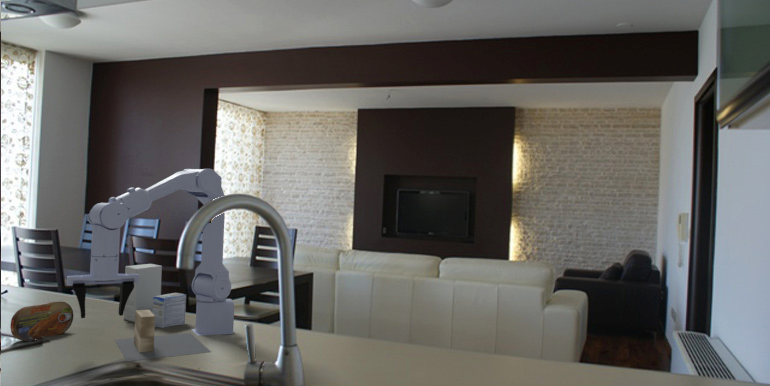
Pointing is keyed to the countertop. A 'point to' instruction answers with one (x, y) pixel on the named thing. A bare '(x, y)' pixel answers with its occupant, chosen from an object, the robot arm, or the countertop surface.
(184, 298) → the medicine box
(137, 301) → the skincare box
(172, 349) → the mat
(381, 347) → the countertop surface
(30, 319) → the tin
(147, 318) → the tan flat block
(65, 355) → the countertop surface
